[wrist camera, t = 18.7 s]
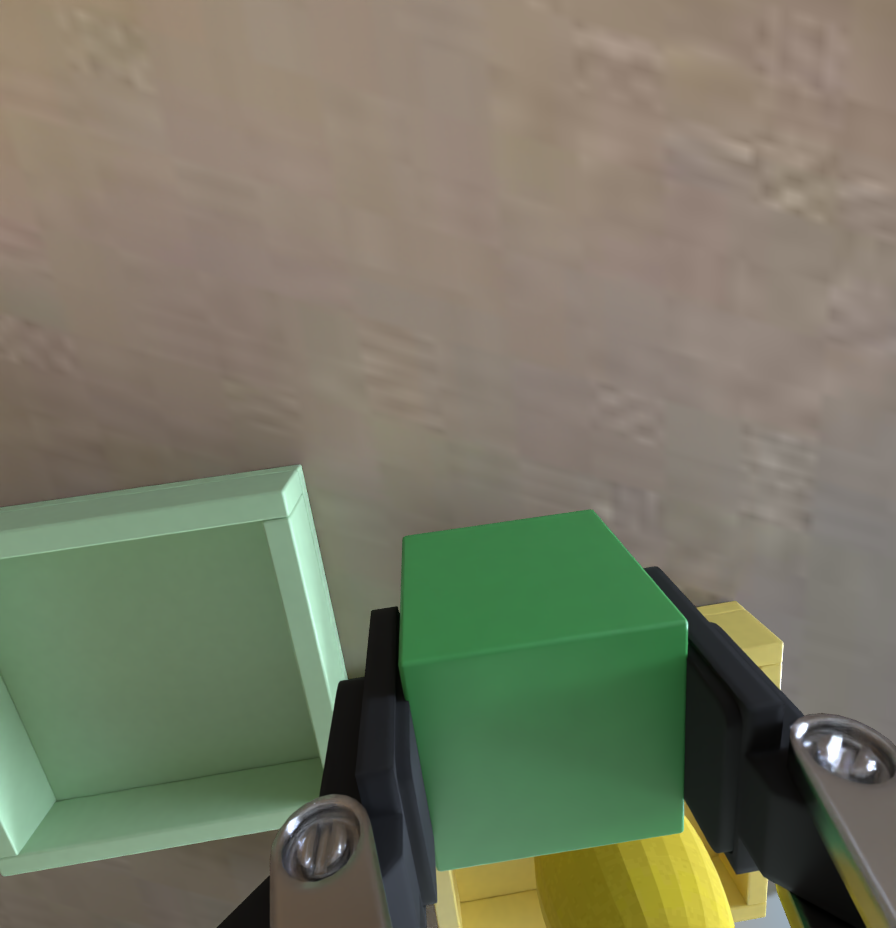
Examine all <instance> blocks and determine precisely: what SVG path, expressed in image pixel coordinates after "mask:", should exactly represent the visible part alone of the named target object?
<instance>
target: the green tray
mask: <svg viewBox="0 0 896 928" xmlns="http://www.w3.org/2000/svg"><path fill="white" fill-rule="evenodd" d="M342 680H348V678H347V674H346V669H345V664H344V660H343V655H342V651H341V646H340V641H339V637H338V632H337V628H336V623H335V618H334V614H333V609H332V605H331V600H330V595H329V591H328V586H327V581H326V577H325V572H324V568H323V563H322V558H321V554H320V549H319V545H318V540H317V535H316V531H315V526H314V522H313V517H312V512H311V508H310V503H309V499H308V494H307V489H306V485H305V480H304V475H303V471H302V466H301V465H292V466H285V467H278V468H271V469H265V470H258V471H251V472H244V473H237V474H230V475H223V476H216V477H209V478H202V479H195V480H188V481H181V482H174V483H167V484H160V485H153V486H146V487H139V488H133V489H126V490H119V491H112V492H105V493H98V494H91V495H84V496H77V497H70V498H63V499H56V500H49V501H42V502H35V503H28V504H21V505H14V506H7V507H0V873H1V874H2V876H10V875H15V874H21V873H27V872H33V871H39V870H44V869H50V868H56V867H62V866H67V865H73V864H79V863H85V862H91V861H96V860H102V859H108V858H114V857H119V856H125V855H131V854H137V853H143V852H148V851H154V850H160V849H166V848H171V847H177V846H183V845H189V844H195V843H200V842H206V841H212V840H218V839H223V838H229V837H235V836H241V835H247V834H252V833H258V832H264V831H270V830H276V829H280V828H281V827H282V825H283V824H284V823H285V821H286V820H287V819H288V818H289V816H290V815H291V814H293V813H294V812H295V811H296V810H297V809H299V808H300V807H301V806H302V805H304V804H306V803H308V802H310V801H312V800H314V799H315V798H318V797H319V794H320V788H321V782H322V776H323V770H324V764H325V758H326V752H327V746H328V740H329V733H330V727H331V721H332V715H333V709H334V703H335V697H336V691H337V687H338V683H339V682H340V681H342Z"/></svg>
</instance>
